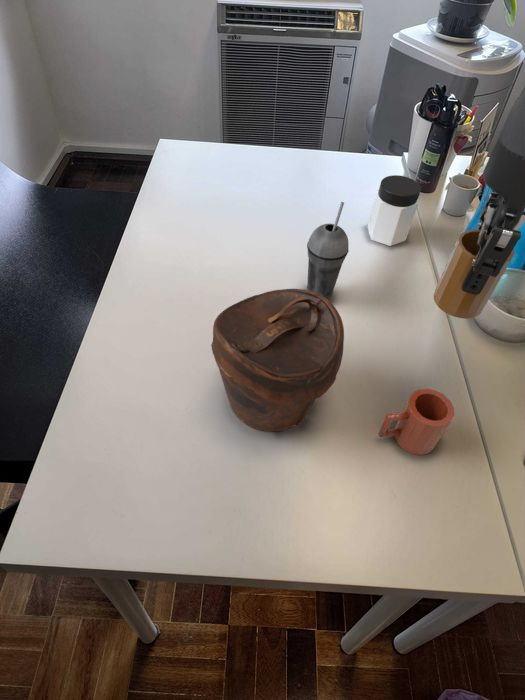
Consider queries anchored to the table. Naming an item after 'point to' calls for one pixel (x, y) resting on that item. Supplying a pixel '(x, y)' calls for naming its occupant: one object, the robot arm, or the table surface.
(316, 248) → the beverage cup
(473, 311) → the wooden cup
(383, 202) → the jar
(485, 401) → the table surface
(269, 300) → the case
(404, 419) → the mug
